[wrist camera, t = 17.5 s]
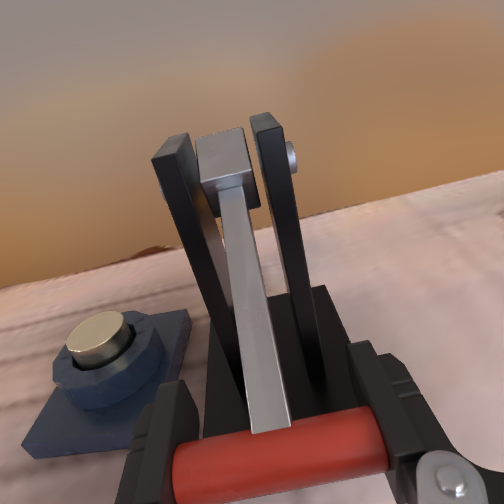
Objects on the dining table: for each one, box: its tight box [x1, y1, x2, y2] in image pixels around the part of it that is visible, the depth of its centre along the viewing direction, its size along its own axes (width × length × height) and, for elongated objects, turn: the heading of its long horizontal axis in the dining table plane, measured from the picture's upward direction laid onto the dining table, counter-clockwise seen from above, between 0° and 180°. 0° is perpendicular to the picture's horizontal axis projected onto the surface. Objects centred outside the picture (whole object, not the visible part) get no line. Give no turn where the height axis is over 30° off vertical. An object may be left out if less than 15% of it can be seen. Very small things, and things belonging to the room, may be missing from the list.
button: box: [66, 311, 134, 371], centre depth 22 cm, size 4×4×2 cm
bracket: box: [151, 112, 359, 439], centre depth 18 cm, size 12×9×15 cm
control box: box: [21, 309, 192, 459], centre depth 23 cm, size 10×8×4 cm
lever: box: [172, 127, 390, 504], centre depth 12 cm, size 13×5×2 cm, turn 4°
